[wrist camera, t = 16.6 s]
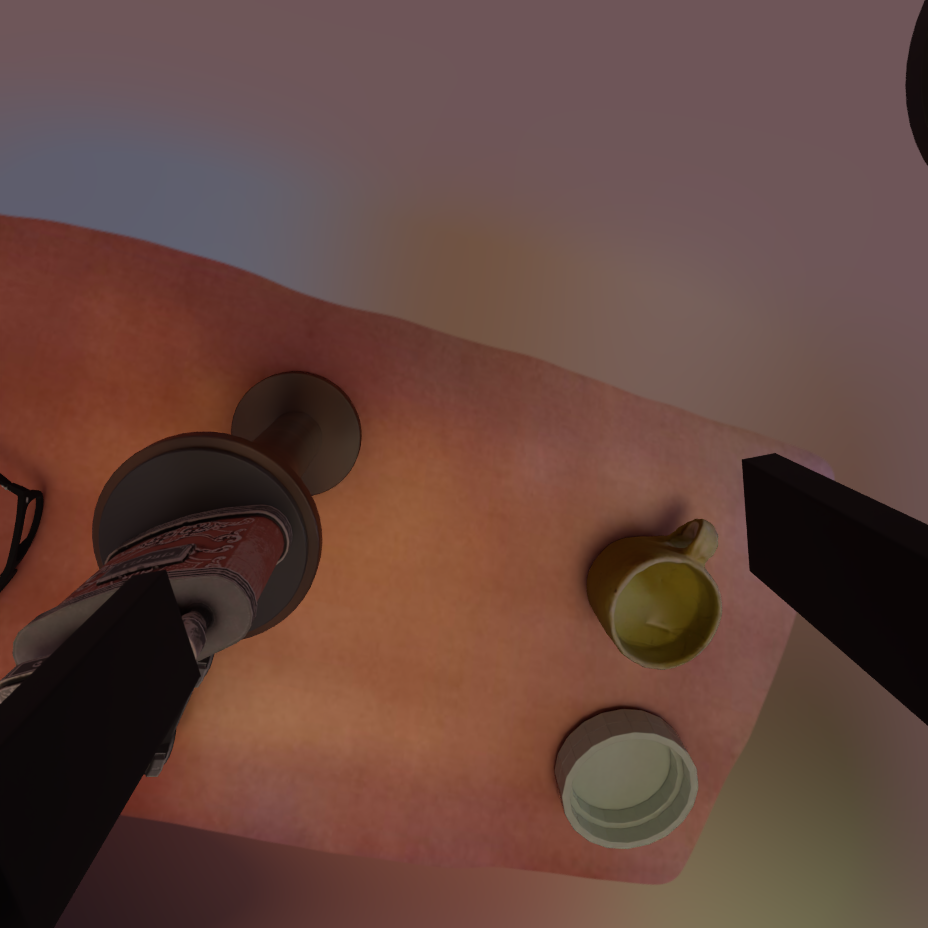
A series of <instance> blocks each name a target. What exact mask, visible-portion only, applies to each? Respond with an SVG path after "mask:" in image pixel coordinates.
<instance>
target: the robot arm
mask: <svg viewBox="0 0 928 928" xmlns="http://www.w3.org/2000/svg"><path fill="white" fill-rule="evenodd" d="M742 469H743V483H744V497H745V511H746V525H747V539H748V553H749V568H750V571H751V572H752V573H753V574H754V575H755V576H756V577H758V578H759V579H760V580H761V581H762V582H763V583H764V584H766V585H767V586H768V587H769V588H770V589H771V590H772V591H774V592H775V593H776V594H777V595H778V596H779V597H780V598H782V599H783V600H784V601H785V602H786V603H787V604H789V605H790V606H791V607H792V608H793V609H794V610H795V611H797V612H798V613H799V614H800V615H801V616H802V617H804V618H805V619H806V620H807V621H808V622H809V623H811V624H812V625H813V626H814V627H815V628H816V629H817V630H818V631H820V632H821V633H822V634H823V635H824V636H825V637H827V638H828V639H829V640H830V641H831V642H832V643H833V644H834V645H836V646H837V647H838V648H839V649H840V650H841V651H843V652H844V653H845V654H846V655H847V656H848V657H849V658H851V659H852V660H853V661H854V662H855V663H857V665H859V666H860V667H861V668H862V669H863V670H864V671H866V672H867V673H868V674H869V675H870V676H871V677H872V678H874V679H875V680H876V681H877V682H878V683H879V684H880V685H882V686H883V687H884V688H885V689H886V690H887V691H888V692H890V693H891V694H892V695H893V696H894V697H895V698H897V699H898V700H899V701H900V702H901V703H902V704H903V705H905V706H906V707H907V708H908V709H909V710H910V711H911V712H913V713H914V714H915V715H916V716H917V717H918V718H920V719H921V720H922V721H923V722H924V723H925V724H926V725H928V525H927V524H925V523H923V522H921V521H918V520H916V519H914V518H912V517H910V516H908V515H906V514H904V513H902V512H900V511H897V510H895V509H893V508H891V507H889V506H887V505H885V504H882V503H880V502H878V501H876V500H874V499H872V498H870V497H868V496H865V495H863V494H861V493H859V492H857V491H855V490H853V489H850V488H848V487H846V486H844V485H842V484H840V483H838V482H836V481H833V480H831V479H829V478H827V477H825V476H823V475H821V474H819V473H816V472H814V471H812V470H810V469H808V468H806V467H804V466H802V465H799V464H797V463H795V462H793V461H791V460H789V459H787V458H784V457H782V456H780V455H778V454H776V453H773V454H768V455H763V456H758V457H752V458H747V459H742ZM200 677H201V674H200V671H199V668H198V665H197V662H196V659H195V656H194V653H193V650H192V647H191V644H190V641H189V638H188V635H187V632H186V628H185V625H184V622H183V619H182V616H181V613H180V610H179V607H178V604H177V601H176V598H175V595H174V592H173V589H172V586H171V583H170V580H169V577H168V574H167V571H166V569H165V570H159V571H154V572H149V573H144V574H138V575H133V576H131V577H130V578H129V579H128V580H127V581H126V582H125V583H124V584H123V585H122V586H121V587H120V588H119V589H118V590H117V591H116V592H115V593H114V594H113V595H112V596H111V597H110V598H109V599H108V600H107V601H106V602H105V603H104V604H103V605H102V606H100V607H99V608H98V609H97V610H96V611H95V612H94V613H93V614H92V615H91V616H90V617H89V618H88V619H87V620H86V621H85V622H84V623H83V624H82V625H81V626H80V627H79V628H78V629H77V630H76V631H75V632H74V633H73V634H72V635H71V636H70V637H69V638H68V639H67V640H65V641H64V642H63V643H62V644H61V645H60V646H59V647H58V648H57V649H56V650H55V651H54V652H53V653H52V654H51V655H50V656H49V657H48V658H47V659H46V660H45V661H44V662H43V663H42V664H41V665H40V666H39V667H38V668H37V669H36V670H35V671H34V672H33V673H31V674H30V675H29V676H28V677H27V678H26V679H25V680H24V681H23V682H22V683H21V684H20V685H19V686H18V687H17V688H16V689H15V690H14V691H13V692H12V693H11V694H10V695H9V696H8V697H7V698H6V699H5V700H4V701H3V702H2V703H1V704H0V928H54V927H55V925H56V923H57V921H58V920H59V918H60V916H61V914H62V913H63V911H64V909H65V907H66V906H67V904H68V903H69V901H70V899H71V897H72V896H73V894H74V892H75V890H76V889H77V887H78V885H79V884H80V882H81V880H82V879H83V877H84V875H85V873H86V872H87V870H88V868H89V867H90V865H91V863H92V862H93V860H94V858H95V856H96V855H97V853H98V851H99V850H100V848H101V846H102V844H103V843H104V841H105V839H106V837H107V836H108V834H109V832H110V831H111V829H112V827H113V826H114V824H115V822H116V820H117V819H118V817H119V815H120V814H121V812H122V810H123V809H124V807H125V805H126V803H127V802H128V800H129V798H130V797H131V795H132V793H133V791H134V790H135V788H136V786H137V785H138V783H139V781H140V779H141V778H142V776H143V774H144V773H145V771H146V769H147V767H148V766H149V764H150V762H151V761H152V759H153V757H154V755H155V754H156V752H157V750H158V749H159V747H160V745H161V744H162V742H163V740H164V738H165V737H166V735H167V733H168V732H169V730H170V728H171V726H172V725H173V723H174V721H175V720H176V718H177V716H178V714H179V713H180V711H181V709H182V708H183V706H184V704H185V702H186V701H187V699H188V697H189V696H190V694H191V692H192V690H193V689H194V687H195V685H196V684H197V682H198V680H199V679H200Z"/></svg>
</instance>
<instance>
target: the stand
mask: <svg viewBox="0 0 928 928" xmlns="http://www.w3.org/2000/svg"><path fill="white" fill-rule="evenodd" d="M360 446H361V425H360V420H359V417H358V414H357V411H356V409H355V407H354V405H353V404H352V402H351V400H350V399H349V398H348V396H347V395H346V394H345V393H344V392H343V391H342V390H341V389H340V388H339V387H338V386H336V385H335V384H334V383H332V382H331V381H329V380H327V379H326V378H323V377H321V376H319V375H316V374H312V373H308V372H301V371H290V372H283V373H279V374H275V375H272V376H270V377H268V378H266V379H264V380H262V381H261V382H259V383H257V384H256V385H255V386H253V387H252V388H251V389H250V390H249V391H248V392H247V393H246V394H245V395H244V396H243V398H242V399H241V401H240V402H239V404H238V406H237V408H236V410H235V413H234V416H233V421H232V429H231V435H230V434H225V433H218V432H191V433H182V434H178V435H175V436H171V437H167V438H165V439H162V440H160V441H157V442H155V443H153V444H151V445H149V446H148V447H146V448H144V449H142V450H141V451H139V452H137V453H136V454H134V455H133V456H131V457H130V458H129V459H128V460H126V461H125V462H124V463H123V464H122V465H121V466H120V467H119V468H118V469H117V470H116V471H115V472H114V473H113V474H112V476H111V477H110V479H109V480H108V482H107V483H106V484H105V486H104V488H103V490H102V492H101V494H100V496H99V499H98V502H97V505H96V508H95V512H94V518H93V527H92V539H93V547H94V553H95V557H96V560H97V564H98V567H99V569H101V568H102V567H103V566H104V565H105V562H106V560H107V558H108V556H109V554H111V553H112V552H113V551H114V550H115V549H116V548H118V547H119V546H120V545H121V544H123V543H124V542H126V541H128V540H130V539H132V538H134V537H136V536H138V535H140V534H142V533H144V532H146V531H148V530H150V529H152V528H154V527H157V526H159V525H162V524H165V523H168V522H171V521H174V520H177V519H179V518H182V517H185V516H188V515H192V514H197V513H202V512H207V511H212V510H217V509H222V508H228V507H240V506H251V505H268V506H272V507H274V508H276V509H278V510H279V511H280V512H281V513H282V514H283V515H284V516H286V518H287V520H288V522H289V523H290V525H291V530H292V535H293V536H292V542H291V546H290V548H289V550H288V552H287V554H286V555H285V557H284V559H283V560H282V561H281V562H279V563H278V564H277V565H276V566H275V568H274V570H273V572H272V574H271V576H270V577H269V579H268V581H267V583H266V585H265V587H264V589H263V591H262V593H261V595H260V597H259V599H258V601H257V611H256V617H255V619H254V621H253V623H252V625H251V627H250V629H249V630H248V632H247V634H246V636H245V637H244V638H242V639H246V638H250V637H252V636H255V635H257V634H260V633H262V632H265V631H266V630H268V629H270V628H272V627H274V626H275V625H277V624H278V623H280V622H281V621H282V620H284V619H285V618H286V617H287V616H288V615H290V614H291V613H292V612H293V611H294V610H295V609H296V608H297V606H298V605H299V604H300V603H301V601H302V600H303V599H304V597H305V595H306V594H307V592H308V590H309V589H310V587H311V584H312V582H313V580H314V577H315V575H316V572H317V569H318V566H319V562H320V558H321V551H322V528H321V522H320V517H319V514H318V510H317V507H316V504H315V502H314V500H313V498H312V496H313V495H317V494H320V493H323V492H325V491H327V490H329V489H331V488H333V487H334V486H336V485H337V484H338V483H340V482H341V481H342V480H343V479H344V478H345V477H346V476H347V474H348V473H349V472H350V471H351V469H352V467H353V465H354V464H355V461H356V459H357V456H358V454H359V450H360ZM242 639H241V640H242Z"/></svg>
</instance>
